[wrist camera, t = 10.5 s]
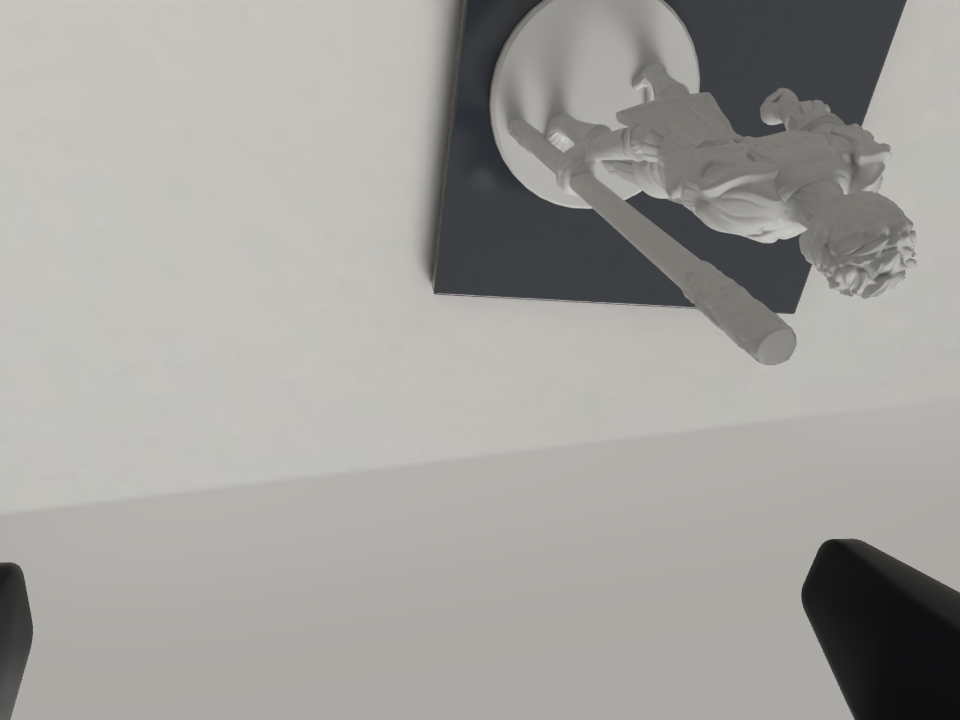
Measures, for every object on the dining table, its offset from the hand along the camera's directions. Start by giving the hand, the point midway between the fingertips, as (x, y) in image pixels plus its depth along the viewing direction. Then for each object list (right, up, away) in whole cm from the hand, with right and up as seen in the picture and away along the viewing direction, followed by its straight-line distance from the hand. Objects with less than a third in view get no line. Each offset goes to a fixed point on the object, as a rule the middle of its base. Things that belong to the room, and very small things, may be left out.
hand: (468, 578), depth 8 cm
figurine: (+3, +9, +10) cm, 13 cm away
